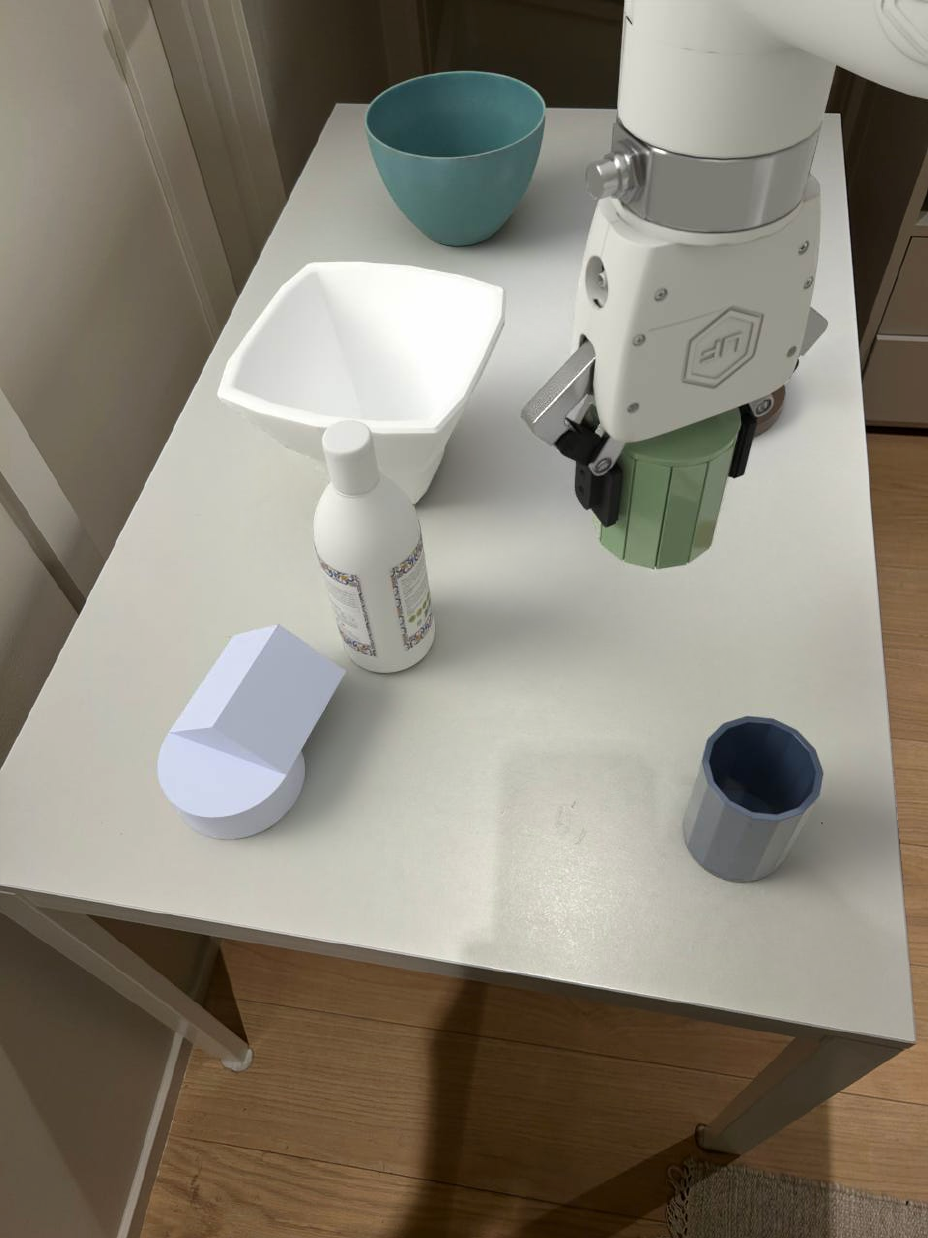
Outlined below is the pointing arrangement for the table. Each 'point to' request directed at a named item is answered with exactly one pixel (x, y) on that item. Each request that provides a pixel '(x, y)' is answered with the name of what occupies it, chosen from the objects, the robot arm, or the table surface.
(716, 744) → the blue cup
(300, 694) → the wedge on round base
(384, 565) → the bath foam
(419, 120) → the plant pot
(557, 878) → the table surface
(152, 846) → the table surface
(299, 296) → the bowl
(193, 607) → the table surface
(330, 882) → the table surface
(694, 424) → the green cup
